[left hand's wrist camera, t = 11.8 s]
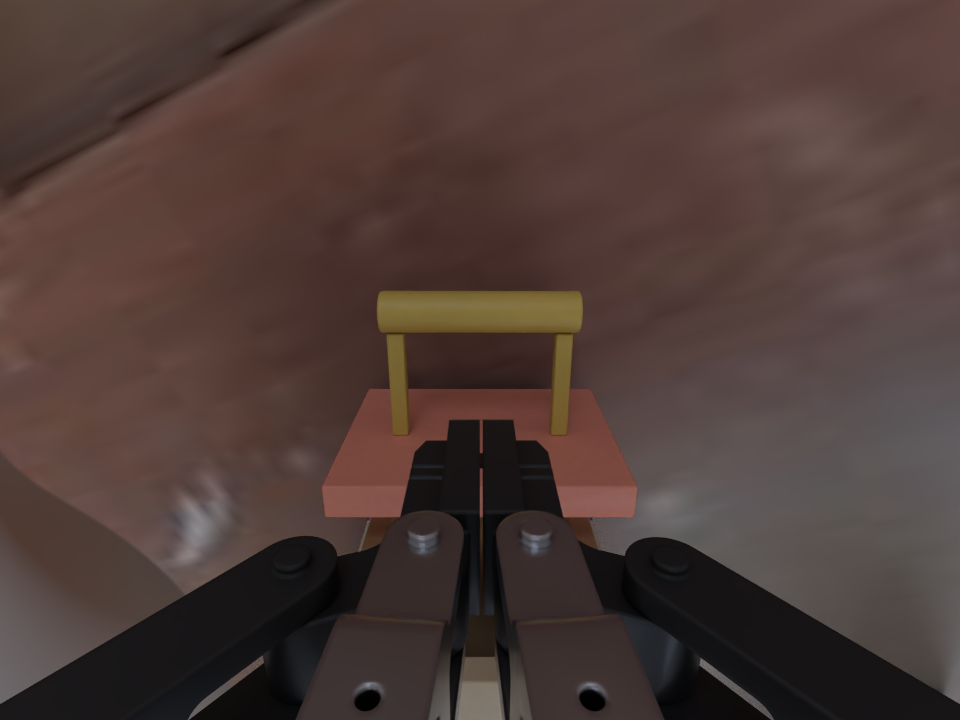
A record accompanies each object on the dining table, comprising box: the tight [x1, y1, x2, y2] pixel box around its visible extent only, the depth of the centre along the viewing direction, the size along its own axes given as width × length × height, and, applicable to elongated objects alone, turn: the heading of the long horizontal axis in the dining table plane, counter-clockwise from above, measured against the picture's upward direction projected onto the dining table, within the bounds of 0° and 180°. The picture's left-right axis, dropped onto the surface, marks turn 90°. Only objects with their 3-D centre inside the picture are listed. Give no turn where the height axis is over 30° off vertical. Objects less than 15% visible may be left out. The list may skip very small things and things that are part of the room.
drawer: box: [322, 291, 638, 657], centre depth 22 cm, size 22×10×8 cm, turn 0°
